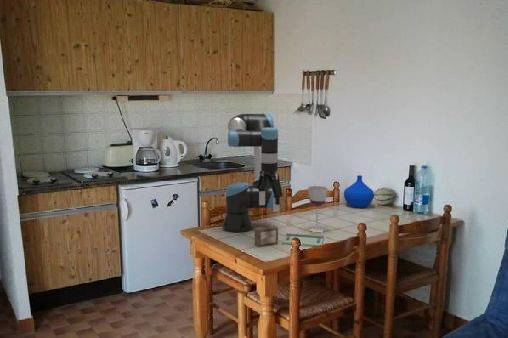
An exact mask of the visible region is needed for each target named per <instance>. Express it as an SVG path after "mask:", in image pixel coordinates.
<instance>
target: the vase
mask: <svg viewBox="0 0 508 338" xmlns="http://www.w3.org/2000/svg"><path fill="white" fill-rule="evenodd" d="M343 198H344V200H345V202H346V204H348V205H349V206H350V207H352V208H356V209H364V208H367V207H369V206H370V204H372V202H373V201H374V198H375V192H374V190H373V189H372V188H370V187H369V186H368V185H367V184H365V183H364V181H363V175H361V174H360V175H359V174H358V175H357V176H356V181H355V182H354V183H352V184H351V185H350V186H348V187H346V188H345V189H344V191H343Z"/></svg>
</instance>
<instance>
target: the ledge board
mask: <svg viewBox="0 0 508 338" xmlns="http://www.w3.org/2000/svg"><path fill="white" fill-rule="evenodd" d="M294 237H297V238H299V239H300V240H301V243H302V245H301V246H300V247H309V246H319V245H322V246H323V242H324V240H325V239H324V235H315V234H314V235H313V234H301V233H300V234H299V233H289V232H287V233H286V234H285V237H284V238H283V240H282V242H281V245H287V246H291V245H290V241H291V239H292V238H294Z"/></svg>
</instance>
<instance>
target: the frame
mask: <svg viewBox="0 0 508 338" xmlns="http://www.w3.org/2000/svg"><path fill="white" fill-rule="evenodd" d="M278 244H279V227H278V226H276V225H267V226H260V227H254V246H256V247H257V246H258V247H257V248H263V247H269V245H270V246H275V245H278Z"/></svg>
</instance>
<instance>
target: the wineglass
mask: <svg viewBox="0 0 508 338" xmlns="http://www.w3.org/2000/svg"><path fill="white" fill-rule="evenodd" d="M307 189H308V198H309V202H310V203H311V204H312V205H313V206H314V207H316V212H315V214H316V215H315V227H311V228H312V229H311V228H309V229H310V230H311V231H313V232H312V233H314V232H321V233H324V232H325V231H324V230H325V228H321V229H320V227H318V226H319V225H318V224H319V207H320V206H322V205H324V204H325V203H326V200H327V195H328V187H325V186H318V185H314V186H312V185H311V186H308V188H307ZM323 231H324V232H323Z"/></svg>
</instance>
